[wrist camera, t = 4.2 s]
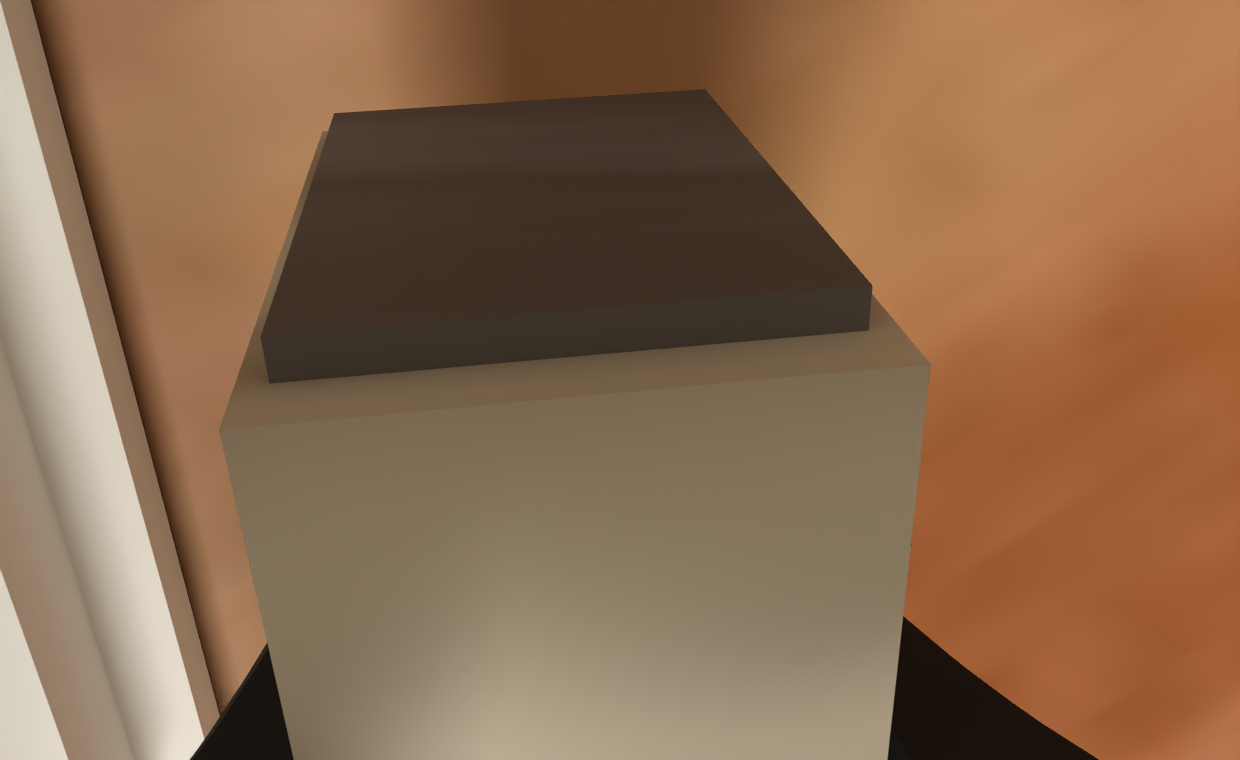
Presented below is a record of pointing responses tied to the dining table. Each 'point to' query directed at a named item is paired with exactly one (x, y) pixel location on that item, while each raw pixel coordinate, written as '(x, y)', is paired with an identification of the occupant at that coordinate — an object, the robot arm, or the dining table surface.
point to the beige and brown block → (573, 446)
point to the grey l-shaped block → (77, 474)
